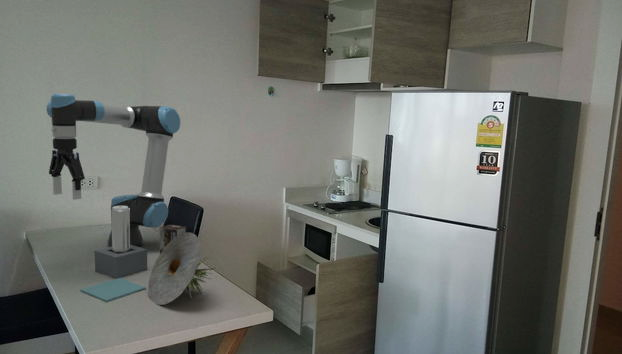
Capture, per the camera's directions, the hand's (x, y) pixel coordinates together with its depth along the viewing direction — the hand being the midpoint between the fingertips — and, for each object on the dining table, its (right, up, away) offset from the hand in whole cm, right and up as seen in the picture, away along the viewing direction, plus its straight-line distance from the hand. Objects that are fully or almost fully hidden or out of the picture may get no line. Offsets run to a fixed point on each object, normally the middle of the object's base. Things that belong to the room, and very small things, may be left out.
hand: (67, 196), depth 168 cm
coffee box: (+33, -29, +19) cm, 48 cm away
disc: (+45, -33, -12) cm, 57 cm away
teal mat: (+21, -32, -9) cm, 39 cm away
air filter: (+15, -29, +11) cm, 35 cm away
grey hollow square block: (+15, -29, +11) cm, 34 cm away
